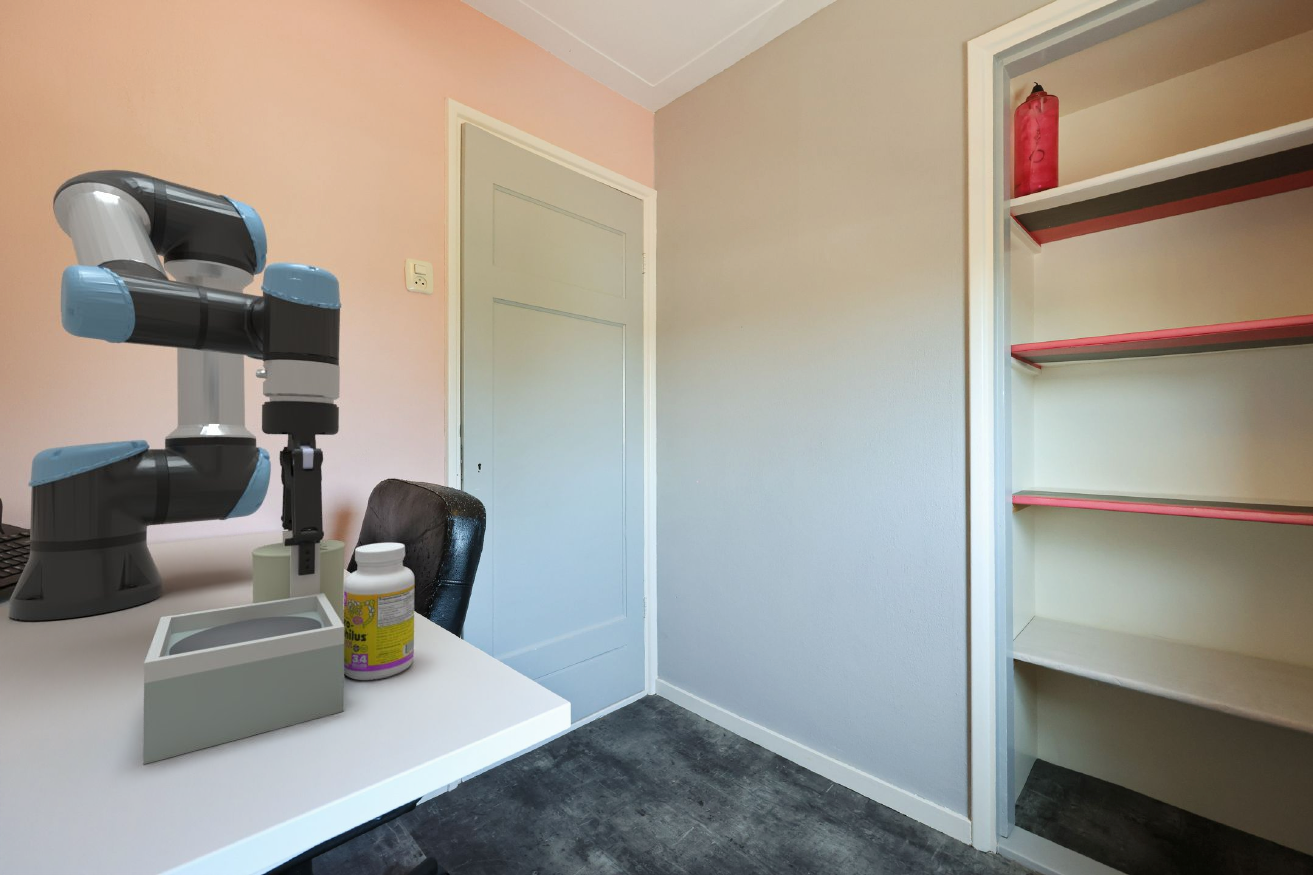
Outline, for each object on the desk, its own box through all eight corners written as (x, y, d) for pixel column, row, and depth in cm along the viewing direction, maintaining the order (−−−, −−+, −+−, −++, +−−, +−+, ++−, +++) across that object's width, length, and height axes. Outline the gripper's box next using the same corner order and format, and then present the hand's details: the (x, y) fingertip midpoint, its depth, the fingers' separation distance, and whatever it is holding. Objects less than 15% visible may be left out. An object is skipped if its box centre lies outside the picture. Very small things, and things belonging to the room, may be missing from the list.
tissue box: (160, 697, 51) (161, 616, 51) (323, 662, 59) (323, 593, 59) (143, 764, 40) (144, 662, 40) (343, 711, 48) (344, 626, 48)
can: (299, 665, 58) (300, 552, 58) (228, 657, 60) (229, 548, 60) (362, 634, 67) (363, 537, 67) (299, 628, 69) (300, 534, 69)
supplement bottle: (333, 668, 57) (334, 546, 57) (398, 651, 62) (399, 538, 62) (356, 689, 53) (357, 556, 53) (424, 668, 57) (425, 546, 58)
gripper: (257, 403, 70) (256, 577, 70) (267, 393, 53) (265, 625, 52) (325, 406, 75) (324, 569, 75) (355, 397, 57) (353, 610, 57)
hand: (299, 592), depth 64 cm, fingers open, 10 cm apart
